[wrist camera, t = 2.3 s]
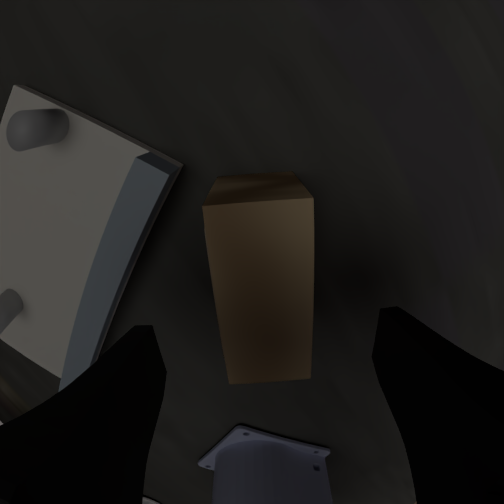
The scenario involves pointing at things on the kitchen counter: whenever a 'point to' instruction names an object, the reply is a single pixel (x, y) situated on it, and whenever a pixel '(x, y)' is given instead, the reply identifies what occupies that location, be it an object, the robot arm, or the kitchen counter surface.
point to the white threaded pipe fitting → (148, 501)
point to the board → (70, 227)
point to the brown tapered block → (262, 274)
